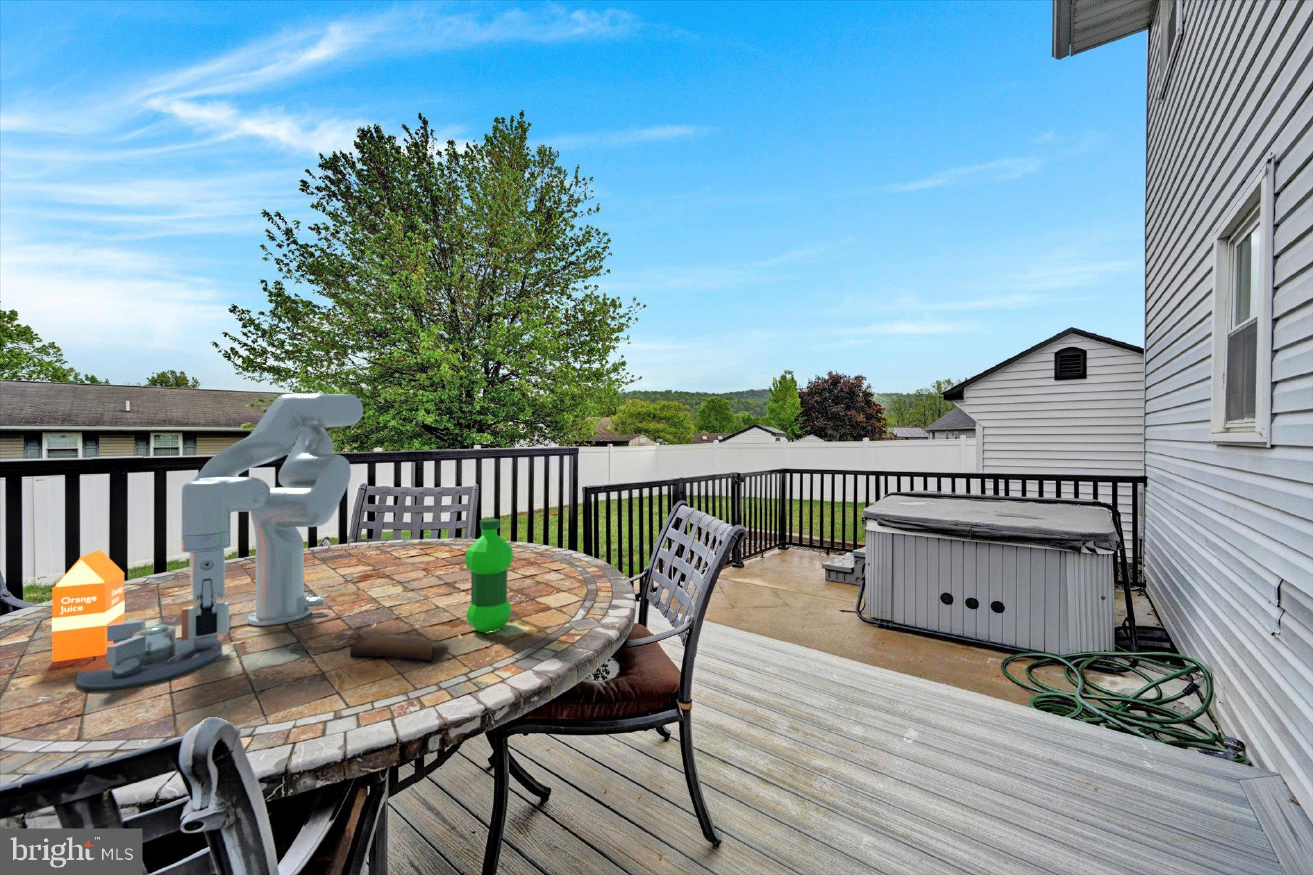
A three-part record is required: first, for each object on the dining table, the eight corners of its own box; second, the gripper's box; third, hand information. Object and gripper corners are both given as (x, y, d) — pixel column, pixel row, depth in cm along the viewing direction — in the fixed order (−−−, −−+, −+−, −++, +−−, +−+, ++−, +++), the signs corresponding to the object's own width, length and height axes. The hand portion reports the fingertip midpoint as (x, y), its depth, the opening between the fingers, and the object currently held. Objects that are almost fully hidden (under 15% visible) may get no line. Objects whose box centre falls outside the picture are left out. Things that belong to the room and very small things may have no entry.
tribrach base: (234, 638, 114) (234, 604, 114) (202, 676, 96) (202, 635, 95) (110, 654, 105) (110, 617, 105) (49, 700, 87) (49, 655, 87)
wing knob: (229, 639, 109) (229, 600, 109) (225, 645, 106) (225, 605, 106) (185, 645, 105) (185, 605, 105) (180, 651, 102) (180, 611, 102)
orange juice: (51, 662, 101) (51, 559, 101) (75, 646, 109) (75, 551, 109) (106, 654, 105) (106, 555, 105) (125, 639, 113) (125, 547, 113)
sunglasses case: (455, 645, 110) (446, 624, 106) (439, 675, 104) (429, 654, 100) (377, 641, 112) (366, 620, 109) (357, 670, 106) (344, 649, 103)
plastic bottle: (498, 618, 127) (498, 515, 127) (520, 629, 119) (521, 520, 119) (458, 628, 120) (458, 520, 120) (479, 641, 112) (479, 525, 112)
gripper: (232, 545, 102) (232, 638, 102) (228, 533, 114) (228, 617, 114) (181, 550, 97) (180, 649, 97) (182, 538, 109) (181, 625, 109)
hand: (206, 631), depth 106 cm, fingers closed on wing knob, 2 cm apart
